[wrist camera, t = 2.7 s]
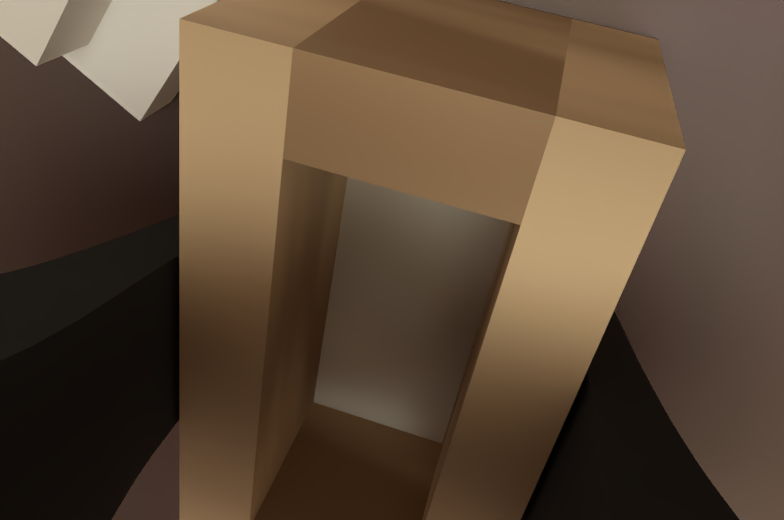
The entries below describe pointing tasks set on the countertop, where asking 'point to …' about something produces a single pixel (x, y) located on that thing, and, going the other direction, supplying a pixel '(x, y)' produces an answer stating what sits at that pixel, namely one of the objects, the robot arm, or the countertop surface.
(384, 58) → the frame
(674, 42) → the countertop surface
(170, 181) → the countertop surface
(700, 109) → the countertop surface
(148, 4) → the cream flat piece
